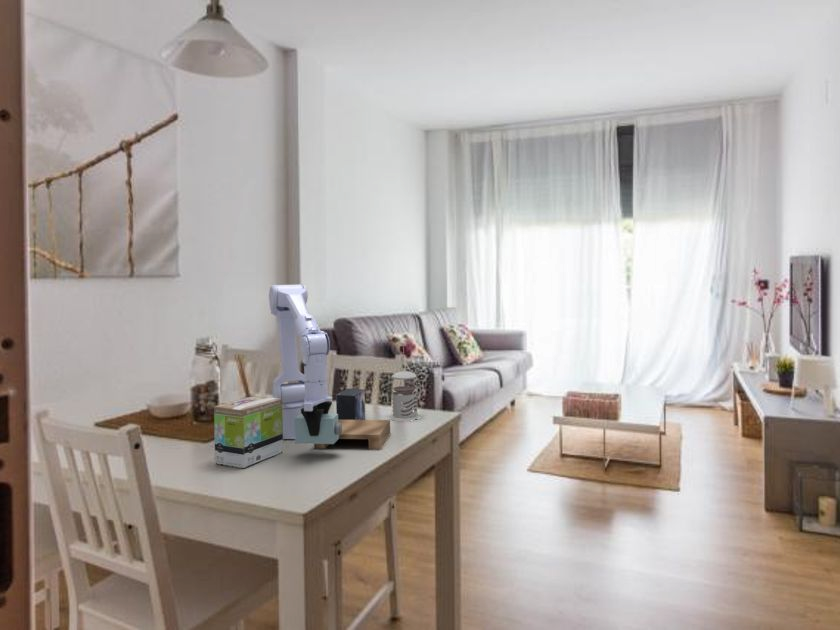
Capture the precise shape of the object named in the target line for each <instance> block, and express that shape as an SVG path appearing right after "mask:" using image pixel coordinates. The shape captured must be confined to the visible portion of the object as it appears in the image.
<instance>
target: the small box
mask: <svg viewBox="0 0 840 630" xmlns="http://www.w3.org/2000/svg"><path fill="white" fill-rule="evenodd" d="M365 390H366V389H362V388H348V387H347V388H346V389H344V390H342V391H340V392H339V393H336V394H335V400H336V401H335V402H336V407H335V409H336V412H335V414H338V420H366V399H365V398H366V397H365V396H366V392H365Z"/></svg>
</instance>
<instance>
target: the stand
mask: <svg viewBox="0 0 840 630" xmlns="http://www.w3.org/2000/svg"><path fill="white" fill-rule="evenodd" d="M338 423H341V424H342V432H341V435H339V439H338V440H368V450H369V449H380V448H382V447H383V446H384V444H385V443H386V441H387V440H388V439H389V437H390V435H391V419H365V420H338ZM389 434H390V435H389ZM386 439H387V440H386ZM384 442H385V443H384ZM329 445H330V444H313V449H316V450H319V449H320V450H321V449H322V450H325V449H327V448H328V446H329ZM382 445H383V446H382ZM380 450H381V449H380Z"/></svg>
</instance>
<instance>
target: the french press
mask: <svg viewBox="0 0 840 630" xmlns="http://www.w3.org/2000/svg"><path fill="white" fill-rule="evenodd" d="M406 345H407V342H406V341H405V340H402V341H401V342H400V346H402V351H403V352H402V353H403V355H402V356H403V362H405V346H406ZM417 377H418V375H417V374H416V373H414V372H412V371H409V370H405V369H403V370H402V371H397V372H395V373H394V374H393V375H391V378H392V379H393V380H394V379H395V380H403V385H402V386H395V387H394V388H393V392H392V393H391V394H392V415H391V416H390V418H391V419H390V421H393V420H394V421H393V422H399V421H407V422H412V421H411V420H415V419H418V418H419V417H420V416H419V415H418V408H417V407H418V403H417V401H418V400H419V398H420V396H421V393H422V386H421V382H420V380H419V379H418V378H417ZM406 380H410V383H411V384H416V387H415V386H407V385H406V386H405V384H406V382H405V381H406ZM412 380H413V381H412ZM417 382H418V383H417ZM418 384H419V387H420V388H419V387H418ZM418 388H419V389H420V391H419V395H418V390H419V389H418ZM415 390H416V391H415ZM417 396H418V397H417ZM403 403H404V404H403ZM418 420H419V419H418ZM415 421H416V420H415Z"/></svg>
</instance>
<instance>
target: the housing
mask: <svg viewBox="0 0 840 630" xmlns="http://www.w3.org/2000/svg"><path fill="white" fill-rule="evenodd" d="M341 432H342V424H341V423H338V414H336V413H328V414H322V417H321V421H320V431H319V435H318V436H310V434H309V431H308V427H307V423H306V421H305V418H304V417H303V415H302V414H300V415H298V416H297V417H296V418H295V439H294V441H295V444H303V445H304V444H307V445H310V444H313V445H314V444H329V445H335V443H336V442H337V441H338V440H340V439H339V435H341Z"/></svg>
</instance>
